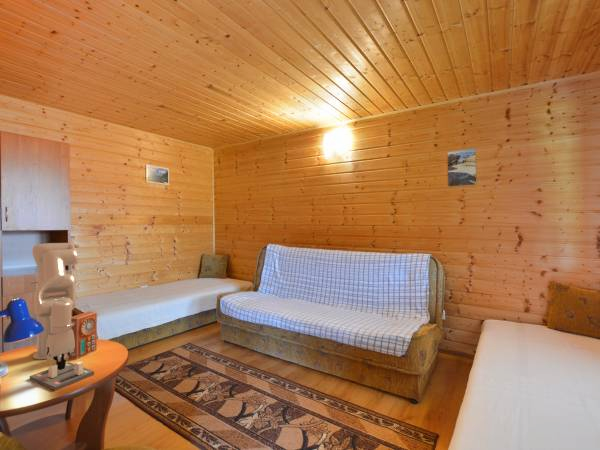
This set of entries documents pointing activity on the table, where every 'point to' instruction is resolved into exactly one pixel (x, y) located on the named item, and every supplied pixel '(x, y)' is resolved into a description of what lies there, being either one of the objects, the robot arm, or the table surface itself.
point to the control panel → (84, 334)
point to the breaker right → (79, 368)
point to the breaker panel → (61, 377)
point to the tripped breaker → (53, 370)
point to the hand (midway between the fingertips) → (60, 368)
